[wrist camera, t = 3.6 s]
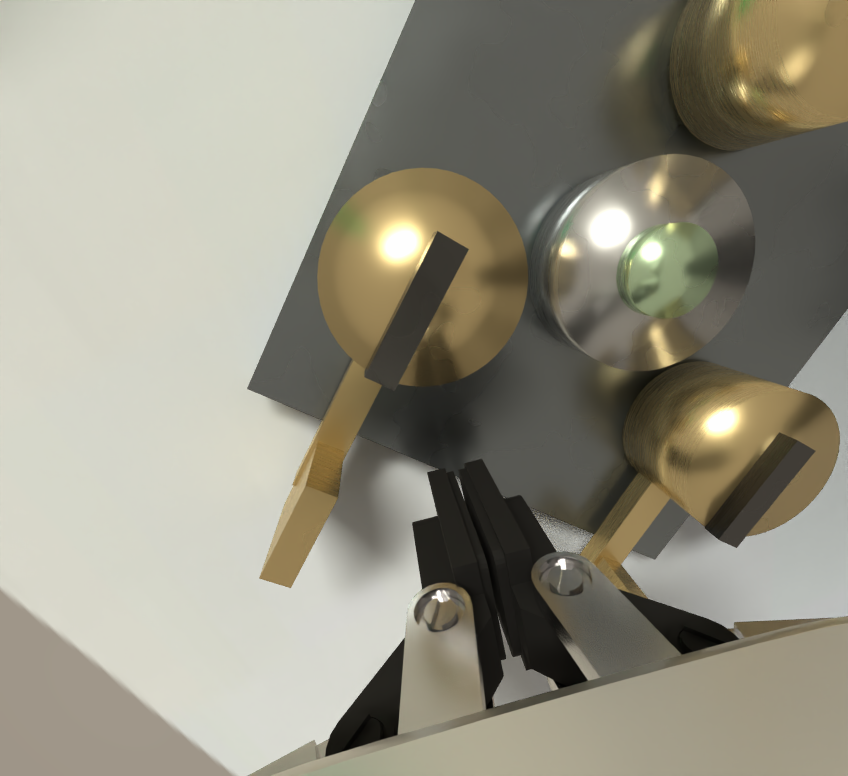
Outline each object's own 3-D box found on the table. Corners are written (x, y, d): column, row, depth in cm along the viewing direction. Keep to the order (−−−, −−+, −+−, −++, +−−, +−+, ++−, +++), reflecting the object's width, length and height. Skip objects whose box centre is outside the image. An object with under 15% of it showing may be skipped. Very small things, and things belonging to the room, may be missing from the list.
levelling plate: (517, -218, 10) (603, -496, 6) (918, 159, 14) (1114, 127, 10) (257, 376, 13) (215, 423, 10) (636, 539, 17) (706, 615, 14)
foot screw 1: (374, 155, 10) (376, 110, 7) (518, 242, 12) (578, 239, 8) (228, 482, 13) (178, 564, 9) (360, 530, 14) (356, 618, 10)
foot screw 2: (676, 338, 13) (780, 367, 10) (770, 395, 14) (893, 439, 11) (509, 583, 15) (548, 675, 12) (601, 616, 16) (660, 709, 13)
